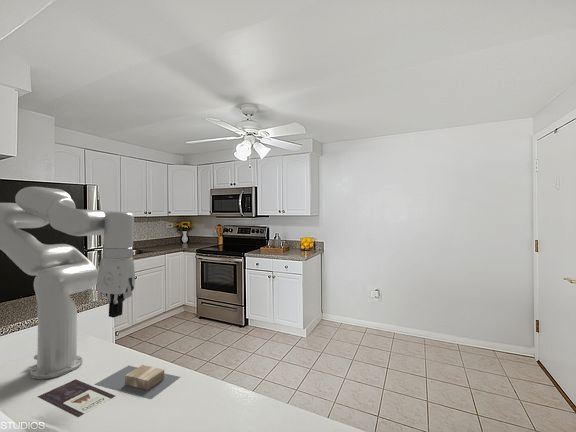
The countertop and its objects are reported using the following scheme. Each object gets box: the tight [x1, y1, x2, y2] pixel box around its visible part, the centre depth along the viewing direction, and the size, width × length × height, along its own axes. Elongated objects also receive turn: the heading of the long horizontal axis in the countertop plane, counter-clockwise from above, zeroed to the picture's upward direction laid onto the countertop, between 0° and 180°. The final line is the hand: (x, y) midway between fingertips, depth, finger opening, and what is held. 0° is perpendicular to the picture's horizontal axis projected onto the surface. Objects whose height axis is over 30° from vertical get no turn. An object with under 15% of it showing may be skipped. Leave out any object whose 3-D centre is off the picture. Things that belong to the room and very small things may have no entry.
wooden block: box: [125, 364, 165, 390], centre depth 81 cm, size 3×6×8 cm
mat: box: [94, 364, 181, 400], centre depth 82 cm, size 20×11×1 cm, turn 71°
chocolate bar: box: [37, 379, 116, 418], centre depth 74 cm, size 9×1×18 cm
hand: (115, 315), depth 85 cm, fingers closed
